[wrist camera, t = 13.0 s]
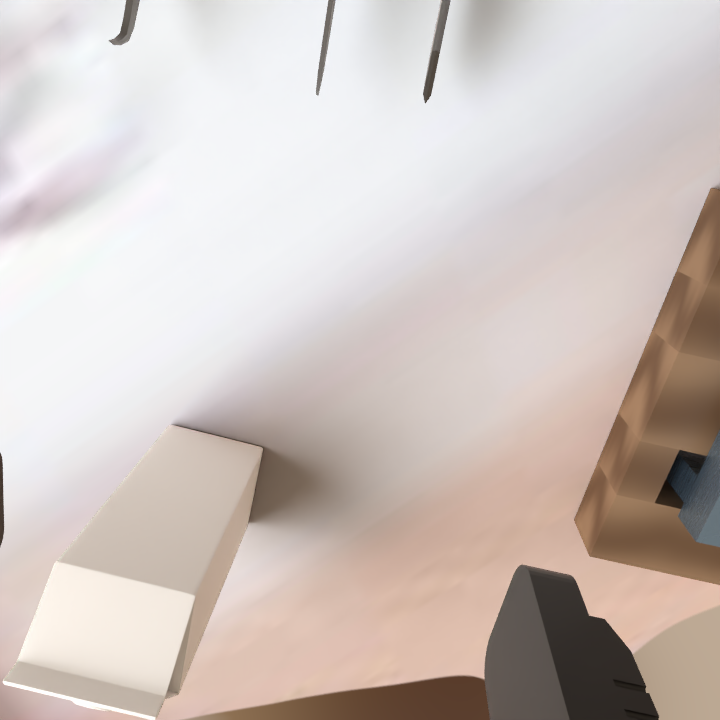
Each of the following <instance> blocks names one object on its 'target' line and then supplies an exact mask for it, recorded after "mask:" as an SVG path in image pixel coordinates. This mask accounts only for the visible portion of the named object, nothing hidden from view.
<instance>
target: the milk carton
mask: <svg viewBox="0 0 720 720" xmlns="http://www.w3.org/2000/svg"><path fill="white" fill-rule="evenodd" d="M262 452H263V448H262V447H259V446H255V445H251V444H247V443H243V442H239V441H235V440H231V439H227V438H223V437H219V436H215V435H211V434H207V433H203V432H199V431H195V430H191V429H187V428H183V427H179V426H174V425H169V426H168V427H167V428H166V429H165V430H164V432H163V433H162V434H161V435H160V436H159V438H158V439H157V440H156V441H155V442H154V444H153V445H152V446H151V447H150V449H149V450H148V451H147V452H146V453H145V455H144V456H143V457H142V458H141V459H140V461H139V462H138V463H137V464H136V466H135V467H134V468H133V469H132V470H131V472H130V473H129V474H128V475H127V476H126V478H125V479H124V480H123V481H122V483H121V484H120V485H119V486H118V487H117V489H116V490H115V491H114V492H113V494H112V495H111V496H110V497H109V498H108V500H107V501H106V502H105V503H104V504H103V506H102V507H101V508H100V509H99V511H98V512H97V513H96V514H95V515H94V517H93V518H92V519H91V520H90V521H89V523H88V524H87V525H86V526H85V528H84V529H83V530H82V531H81V532H80V534H79V535H78V536H77V537H76V538H75V540H74V541H73V542H72V543H71V545H70V546H69V547H68V548H67V549H66V551H65V552H64V553H63V554H62V555H61V557H60V558H59V559H58V560H57V562H55V564H54V567H53V569H52V572H51V575H50V577H49V580H48V582H47V585H46V588H45V590H44V593H43V595H42V598H41V601H40V603H39V606H38V608H37V611H36V614H35V616H34V619H33V621H32V624H31V627H30V629H29V632H28V634H27V637H26V640H25V642H24V645H23V647H22V650H21V653H20V655H19V658H18V660H17V662H16V664H15V665H14V666H13V668H12V669H11V670H10V672H9V673H8V674H7V676H6V677H5V678H4V680H3V683H4V684H5V685H9V686H13V687H17V688H22V689H26V690H30V691H34V692H38V693H42V694H46V695H51V696H55V697H59V698H63V699H67V700H71V701H73V702H74V703H75V704H77V705H80V706H84V707H88V708H92V709H97V710H102V711H117V712H121V713H125V714H130V715H134V716H138V717H142V718H146V719H150V720H155V719H156V718H157V716H158V714H159V712H160V709H161V707H162V705H163V702H164V700H165V699H167V698H170V697H173V696H176V695H178V694H179V692H180V690H181V687H182V685H183V682H184V680H185V677H186V675H187V672H188V670H189V668H190V665H191V663H192V660H193V658H194V655H195V653H196V651H197V648H198V646H199V643H200V641H201V638H202V636H203V633H204V631H205V629H206V626H207V624H208V621H209V619H210V616H211V614H212V612H213V609H214V607H215V604H216V602H217V599H218V597H219V594H220V592H221V590H222V587H223V585H224V582H225V580H226V577H227V575H228V573H229V570H230V568H231V565H232V563H233V560H234V558H235V555H236V553H237V551H238V548H239V546H240V543H241V541H242V538H243V536H244V533H245V531H246V529H247V526H248V522H249V517H250V512H251V507H252V502H253V497H254V492H255V487H256V482H257V477H258V472H259V467H260V462H261V457H262Z"/></svg>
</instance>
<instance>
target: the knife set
mask: <svg viewBox="0 0 720 720" xmlns="http://www.w3.org/2000/svg"><path fill="white" fill-rule="evenodd" d="M139 1H140V0H126V6H125V12H124V18H123V23H122V27H121V31H120V34H119V35H118V36H117V37H116V38H115V39H112V40H109V41H110V42H111V43H112V44H114V45H122V44H124V43H126V42H128V41H129V39H130V36H131V34H132V32H133V29H134V25H135V20H136V16H137V11H138V6H139ZM449 5H450V0H441V2H440V7H439V12H438V17H437V22H436V27H435V32H434V37H433V42H432V47H431V52H430V58H429V63H428V69H427V75H426V80H425V86H424V92H423V95H424V100H425V103H426V102H427V100H428V99H429V97H430V96H431V93H432V88H433V83H434V78H435V73H436V68H437V63H438V58H439V53H440V48H441V44H442V39H443V34H444V29H445V24H446V20H447V15H448V10H449ZM334 6H335V0H328V7H327V14H326V21H325V28H324V35H323V42H322V48H321V55H320V62H319V69H318V78H317V88H316V95H319V91H320V86H321V81H322V77H323V72H324V66H325V60H326V54H327V49H328V43H329V37H330V31H331V25H332V19H333V12H334Z"/></svg>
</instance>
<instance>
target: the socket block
mask: <svg viewBox="0 0 720 720" xmlns="http://www.w3.org/2000/svg"><path fill="white" fill-rule="evenodd" d="M719 430H720V190H718V189H713V188H711V189H710V192H709V194H708V196H707V199H706V201H705V204H704V206H703V209H702V211H701V213H700V216H699V218H698V221H697V223H696V226H695V228H694V230H693V233H692V235H691V238H690V240H689V243H688V245H687V247H686V250H685V252H684V255H683V257H682V259H681V262H680V264H679V267H678V269H677V272H676V274H675V276H674V279H673V281H672V284H671V286H670V289H669V291H668V293H667V296H666V298H665V301H664V303H663V306H662V308H661V310H660V313H659V315H658V318H657V320H656V323H655V325H654V327H653V330H652V332H651V335H650V337H649V340H648V342H647V344H646V347H645V349H644V352H643V354H642V357H641V359H640V361H639V364H638V366H637V369H636V371H635V374H634V376H633V378H632V381H631V383H630V386H629V388H628V391H627V393H626V395H625V398H624V400H623V403H622V405H621V407H620V410H619V412H618V415H617V417H616V420H615V422H614V424H613V427H612V429H611V432H610V434H609V437H608V439H607V441H606V444H605V446H604V449H603V451H602V454H601V456H600V458H599V461H598V463H597V466H596V468H595V471H594V473H593V475H592V478H591V480H590V483H589V485H588V488H587V490H586V492H585V495H584V497H583V500H582V502H581V505H580V507H579V509H578V512H577V514H576V517H575V519H574V521H575V523H576V526H577V528H578V530H579V533H580V535H581V537H582V540H583V542H584V544H585V547H586V549H587V551H588V554H589V556H590V557H595V558H600V559H604V560H609V561H613V562H618V563H622V564H627V565H631V566H636V567H640V568H645V569H650V570H654V571H659V572H663V573H668V574H672V575H677V576H681V577H686V578H690V579H695V580H699V581H704V582H709V583H713V584H718V585H720V547H717V546H712V545H708V544H703V543H699V542H696V541H695V540H694V539H693V537H692V536H691V534H690V533H689V532H688V530H687V529H686V527H685V526H684V524H683V523H682V522H681V520H680V519H679V517H678V514H679V512H680V510H681V508H682V506H683V504H684V502H683V501H682V500H681V498H680V497H679V496H678V494H677V493H676V492H675V490H674V489H673V487H672V486H671V485H670V483H669V482H668V481H667V479H666V478H667V476H668V473H669V471H670V469H671V467H672V465H673V463H674V461H675V458H676V456H677V454H678V452H679V450H682V451H687V452H691V453H696V454H700V455H705V456H707V455H708V453H709V451H710V449H711V447H712V444H713V442H714V440H715V438H716V436H717V434H718V432H719Z"/></svg>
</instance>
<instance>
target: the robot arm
mask: <svg viewBox="0 0 720 720" xmlns="http://www.w3.org/2000/svg"><path fill="white" fill-rule="evenodd" d="M3 534H4V506H3V463H2V456H1V453H0V546H1V543H2V539H3ZM485 687H486V693H487V700H488V708H489V715H490V720H658V718H659V715H658V713H657V711H656V708H655V706H654V704H653V701H652V699H651V697H650V694H649V693H646V691H645V688H646V685H645V683H644V681H643V678H642V676H641V674H640V671H639V669H638V667H637V664H636V662H635V660H634V657H633V655H632V653H631V651H630V650H629V648H628V647H627V646H626V645H625V643H624V642H623V641H622V640H621V639H620V637H619V636H618V635H617V634H616V633H615V631H614V630H613V629H612V628H611V626H610V625H609V624H608V623H607V622H606V620H605V619H602V618H597V617H593V616H589V614H588V612H587V609H586V606H585V604H584V601H583V598H582V596H581V593H580V590H579V588H578V585H577V583H576V581H575V579H574V578H573V577H572V576H571V575H567V574H563V573H558V572H554V571H549V570H545V569H540V568H535V567H531V566H526V565H520V566H519V567H518V568H517V569H516V571H515V573H514V575H513V578H512V580H511V583H510V586H509V588H508V591H507V594H506V596H505V599H504V601H503V604H502V607H501V609H500V612H499V615H498V617H497V620H496V622H495V625H494V628H493V630H492V633H491V636H490V638H489V642H488V646H487V651H486V658H485Z"/></svg>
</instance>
